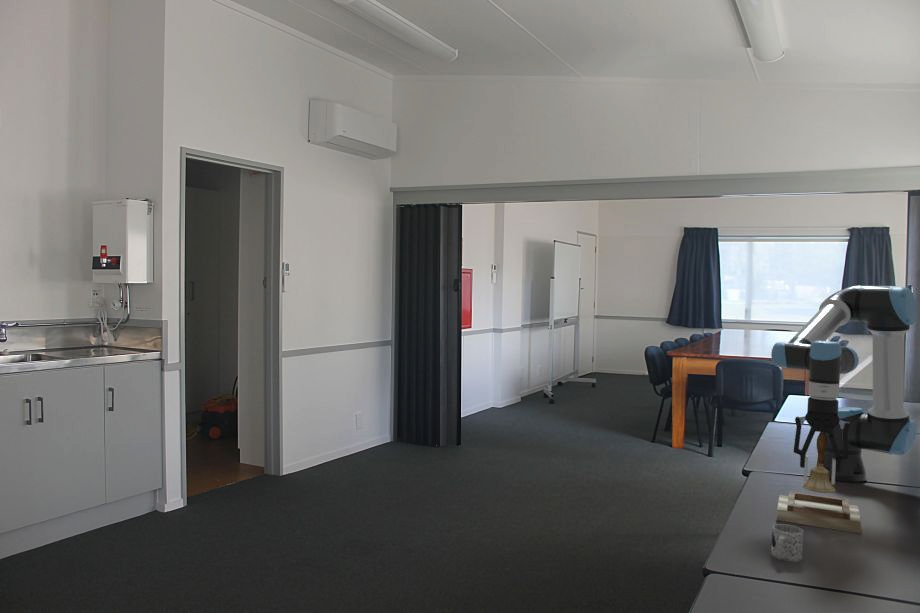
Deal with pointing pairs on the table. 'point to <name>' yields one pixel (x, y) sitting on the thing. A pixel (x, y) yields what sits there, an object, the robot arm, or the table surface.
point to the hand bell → (820, 470)
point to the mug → (787, 542)
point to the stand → (819, 511)
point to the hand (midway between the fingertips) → (819, 481)
